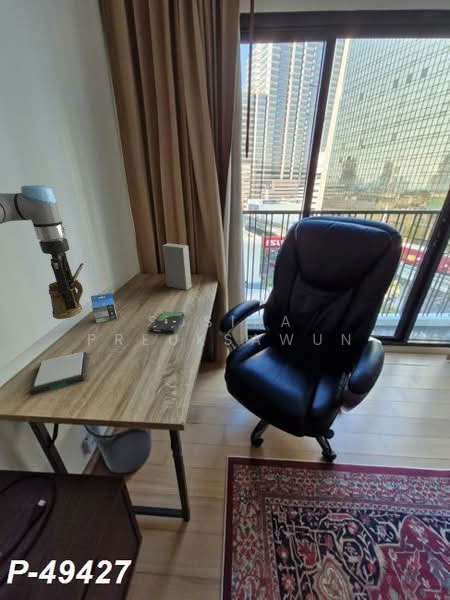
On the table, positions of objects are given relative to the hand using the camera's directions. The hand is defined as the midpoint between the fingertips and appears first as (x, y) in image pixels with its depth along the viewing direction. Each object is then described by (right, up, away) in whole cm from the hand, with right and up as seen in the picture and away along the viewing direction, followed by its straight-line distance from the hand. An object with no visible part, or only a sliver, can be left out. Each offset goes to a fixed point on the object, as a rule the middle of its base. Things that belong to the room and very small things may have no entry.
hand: (72, 303), depth 89 cm
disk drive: (+29, -10, +22) cm, 38 cm away
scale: (0, -24, -5) cm, 24 cm away
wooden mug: (0, -3, +1) cm, 3 cm away
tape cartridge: (0, -8, +26) cm, 28 cm away
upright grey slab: (+27, +9, +59) cm, 66 cm away
